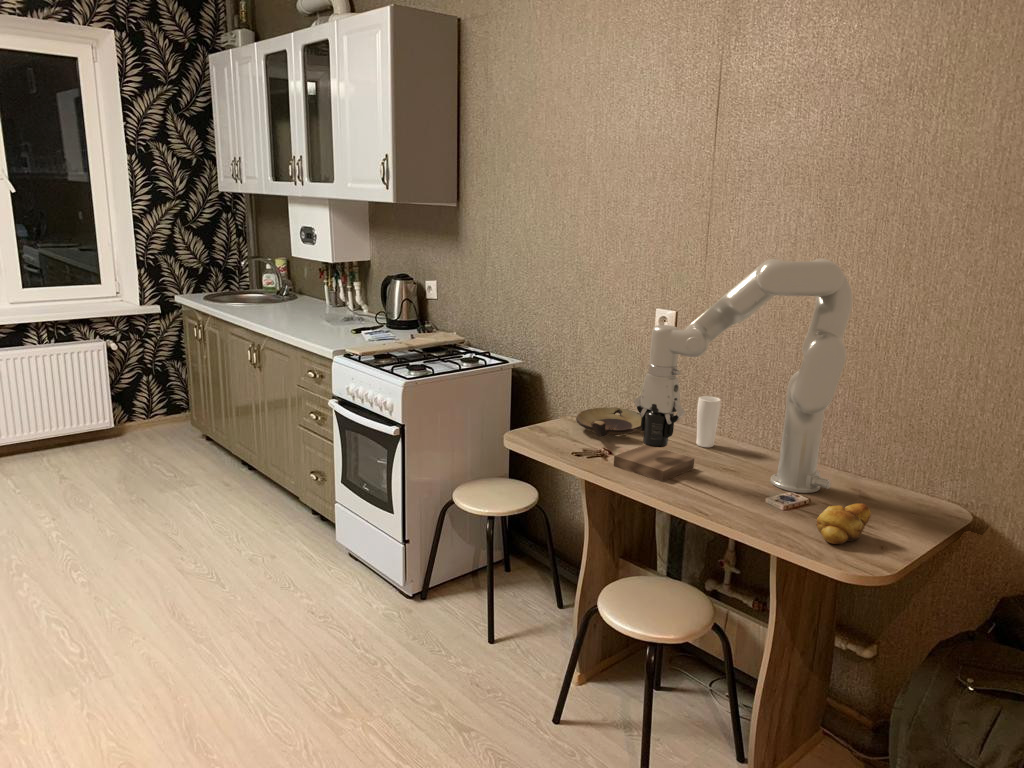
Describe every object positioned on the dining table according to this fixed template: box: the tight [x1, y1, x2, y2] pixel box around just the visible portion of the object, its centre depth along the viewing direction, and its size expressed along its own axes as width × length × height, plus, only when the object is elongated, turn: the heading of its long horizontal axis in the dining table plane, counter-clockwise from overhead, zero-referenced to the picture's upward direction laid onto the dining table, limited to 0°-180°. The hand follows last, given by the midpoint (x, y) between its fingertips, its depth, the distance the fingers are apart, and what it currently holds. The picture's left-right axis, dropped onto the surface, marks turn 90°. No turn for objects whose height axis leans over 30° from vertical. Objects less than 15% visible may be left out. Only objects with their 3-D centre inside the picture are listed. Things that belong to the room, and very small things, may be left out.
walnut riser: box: [613, 444, 695, 482], centre depth 211 cm, size 16×16×3 cm
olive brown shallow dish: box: [575, 406, 642, 438], centre depth 241 cm, size 22×30×8 cm
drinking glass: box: [696, 395, 722, 448], centre depth 231 cm, size 7×7×15 cm
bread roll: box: [816, 503, 872, 545], centre depth 169 cm, size 13×10×8 cm
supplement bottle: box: [642, 404, 669, 448], centre depth 208 cm, size 7×7×12 cm
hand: (656, 432), depth 209 cm, fingers closed on supplement bottle, 6 cm apart
